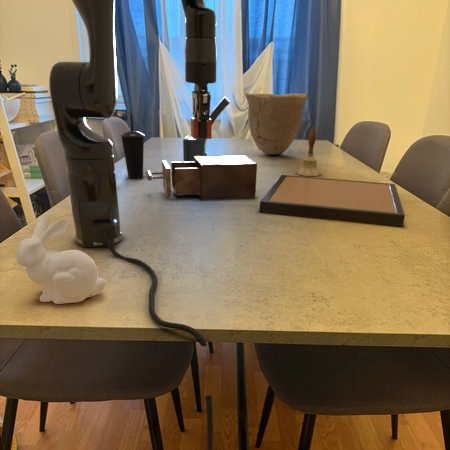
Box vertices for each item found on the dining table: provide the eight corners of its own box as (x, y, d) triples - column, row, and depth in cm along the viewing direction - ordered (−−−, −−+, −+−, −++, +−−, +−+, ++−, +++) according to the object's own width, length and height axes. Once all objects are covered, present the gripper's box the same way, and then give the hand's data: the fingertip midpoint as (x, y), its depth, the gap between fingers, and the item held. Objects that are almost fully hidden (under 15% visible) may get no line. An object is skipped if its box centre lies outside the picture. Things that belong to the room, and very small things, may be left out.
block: (211, 138, 110) (211, 119, 107) (193, 138, 109) (193, 119, 106) (208, 136, 114) (208, 117, 111) (191, 136, 113) (190, 117, 110)
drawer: (148, 198, 119) (146, 168, 115) (145, 188, 129) (144, 160, 125) (218, 195, 123) (218, 167, 119) (210, 186, 133) (210, 159, 129)
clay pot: (233, 150, 200) (235, 91, 189) (288, 149, 208) (293, 91, 196) (255, 161, 177) (258, 94, 166) (315, 159, 185) (323, 95, 173)
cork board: (402, 226, 105) (393, 193, 135) (404, 215, 103) (394, 183, 134) (259, 212, 113) (280, 183, 143) (259, 201, 111) (281, 174, 142)
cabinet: (201, 200, 122) (201, 164, 117) (194, 189, 133) (194, 156, 128) (255, 198, 125) (257, 163, 121) (243, 188, 136) (245, 155, 132)
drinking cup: (119, 178, 144) (113, 113, 135) (133, 174, 150) (129, 111, 141) (137, 181, 141) (133, 114, 132) (151, 176, 147) (148, 113, 138)
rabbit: (21, 305, 66) (4, 230, 60) (44, 279, 74) (31, 211, 69) (100, 307, 66) (90, 232, 60) (114, 281, 74) (107, 213, 69)
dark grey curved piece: (228, 168, 163) (229, 97, 152) (182, 166, 164) (181, 96, 153) (229, 163, 173) (231, 96, 161) (186, 161, 174) (185, 94, 162)
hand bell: (296, 175, 155) (300, 128, 147) (298, 171, 162) (302, 125, 154) (319, 177, 153) (325, 129, 145) (320, 172, 160) (326, 126, 153)
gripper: (181, 60, 108) (183, 132, 116) (189, 59, 96) (190, 140, 104) (210, 61, 110) (210, 132, 118) (222, 60, 97) (220, 140, 106)
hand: (201, 136), depth 111 cm, fingers closed on block, 4 cm apart
